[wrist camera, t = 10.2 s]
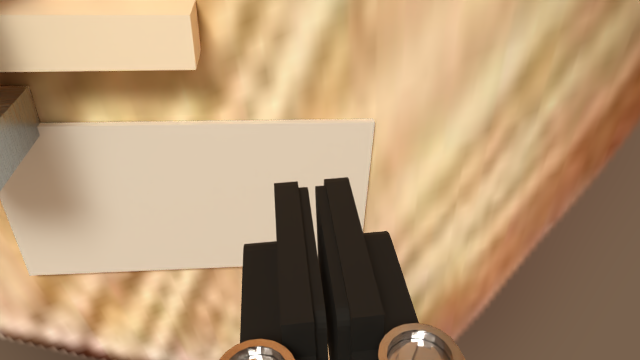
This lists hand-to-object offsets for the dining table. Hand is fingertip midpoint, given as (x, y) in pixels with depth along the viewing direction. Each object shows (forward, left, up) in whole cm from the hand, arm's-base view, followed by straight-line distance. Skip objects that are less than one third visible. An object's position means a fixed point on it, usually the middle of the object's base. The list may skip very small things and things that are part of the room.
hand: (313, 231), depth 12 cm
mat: (+5, +10, -15) cm, 19 cm away
